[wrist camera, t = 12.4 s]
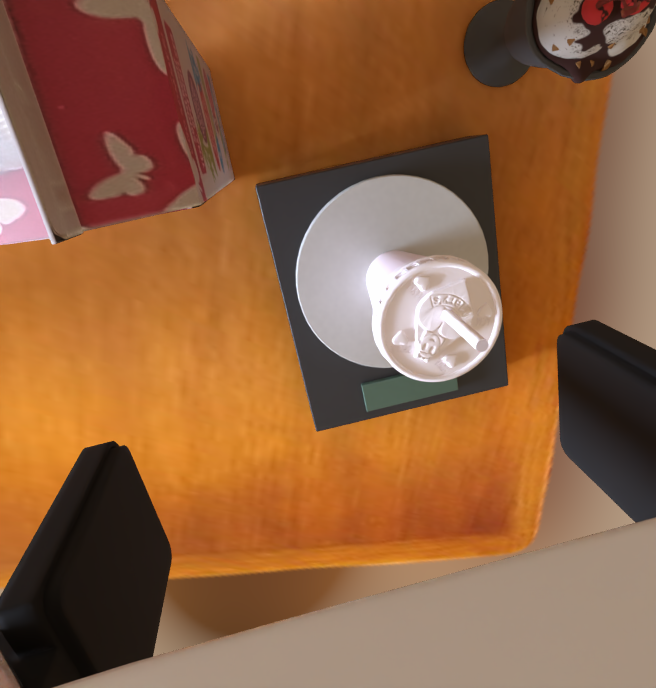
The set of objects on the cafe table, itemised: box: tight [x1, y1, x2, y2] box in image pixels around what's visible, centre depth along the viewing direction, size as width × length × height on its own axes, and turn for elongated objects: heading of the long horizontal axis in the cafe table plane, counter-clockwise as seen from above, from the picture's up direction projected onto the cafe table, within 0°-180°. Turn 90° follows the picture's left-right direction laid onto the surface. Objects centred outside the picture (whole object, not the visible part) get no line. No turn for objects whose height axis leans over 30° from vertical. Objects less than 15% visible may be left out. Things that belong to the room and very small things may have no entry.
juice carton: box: [0, 0, 235, 245], centre depth 22 cm, size 7×7×22 cm
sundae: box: [464, 0, 656, 87], centre depth 26 cm, size 7×7×15 cm
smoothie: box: [366, 250, 502, 382], centre depth 27 cm, size 6×6×14 cm
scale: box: [256, 134, 508, 431], centre depth 36 cm, size 18×15×4 cm
